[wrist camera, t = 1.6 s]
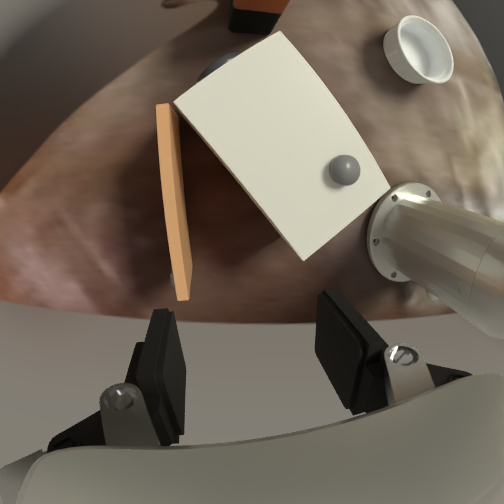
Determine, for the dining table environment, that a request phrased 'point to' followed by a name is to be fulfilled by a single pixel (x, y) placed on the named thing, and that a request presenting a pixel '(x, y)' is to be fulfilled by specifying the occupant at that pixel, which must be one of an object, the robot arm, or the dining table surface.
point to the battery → (255, 15)
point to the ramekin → (418, 51)
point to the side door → (174, 199)
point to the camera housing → (284, 141)
